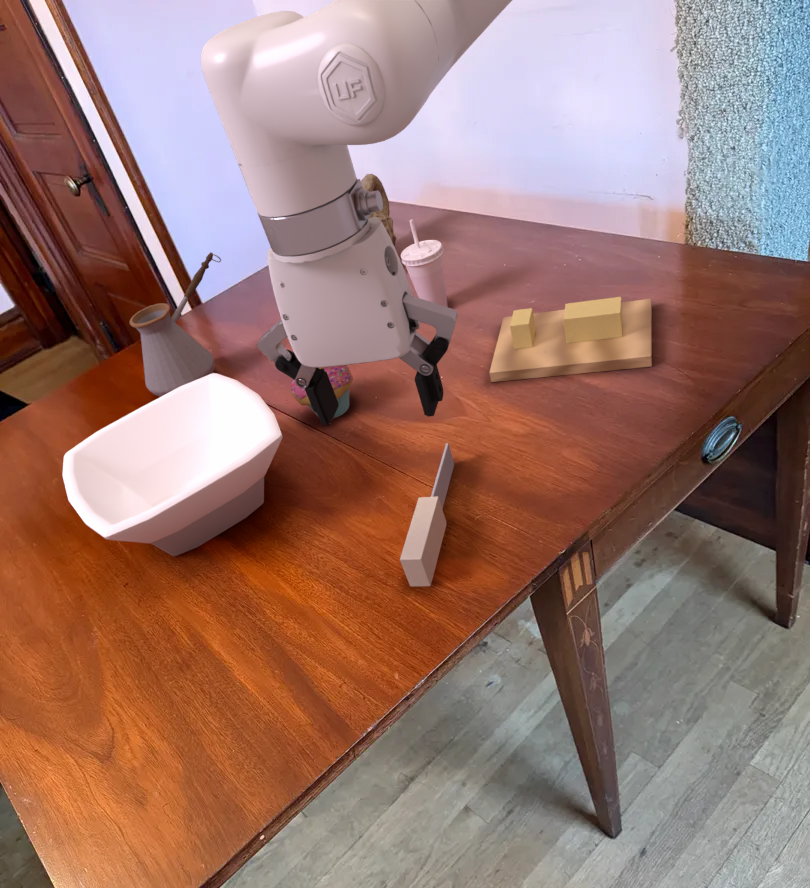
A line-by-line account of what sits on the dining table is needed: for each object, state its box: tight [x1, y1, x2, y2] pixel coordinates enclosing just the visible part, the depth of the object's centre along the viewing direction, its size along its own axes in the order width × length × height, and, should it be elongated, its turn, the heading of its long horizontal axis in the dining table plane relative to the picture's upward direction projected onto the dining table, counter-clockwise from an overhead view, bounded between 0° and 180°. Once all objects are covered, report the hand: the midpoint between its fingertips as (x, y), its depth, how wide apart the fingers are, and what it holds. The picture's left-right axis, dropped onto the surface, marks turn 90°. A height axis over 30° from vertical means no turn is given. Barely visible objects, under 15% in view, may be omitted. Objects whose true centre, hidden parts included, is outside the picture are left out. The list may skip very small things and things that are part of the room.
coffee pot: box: [129, 252, 222, 397], centre depth 117 cm, size 21×12×15 cm, turn 145°
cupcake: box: [289, 365, 354, 419], centre depth 99 cm, size 9×8×12 cm
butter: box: [563, 296, 623, 343], centre depth 96 cm, size 7×4×4 cm, turn 76°
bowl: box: [61, 372, 284, 557], centre depth 91 cm, size 24×25×10 cm
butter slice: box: [510, 307, 536, 349], centre depth 99 cm, size 2×4×4 cm, turn 166°
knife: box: [399, 442, 455, 587], centre depth 80 cm, size 19×2×4 cm, turn 166°
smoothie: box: [400, 218, 449, 307], centre depth 112 cm, size 6×6×14 cm
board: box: [488, 298, 653, 383], centre depth 99 cm, size 20×14×2 cm
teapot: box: [360, 173, 397, 248], centre depth 130 cm, size 21×12×15 cm, turn 159°
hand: (380, 411), depth 66 cm, fingers open, 9 cm apart
